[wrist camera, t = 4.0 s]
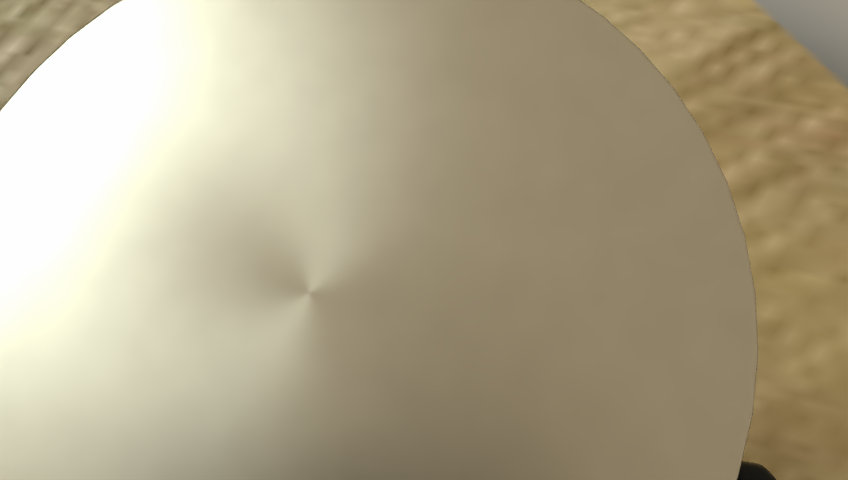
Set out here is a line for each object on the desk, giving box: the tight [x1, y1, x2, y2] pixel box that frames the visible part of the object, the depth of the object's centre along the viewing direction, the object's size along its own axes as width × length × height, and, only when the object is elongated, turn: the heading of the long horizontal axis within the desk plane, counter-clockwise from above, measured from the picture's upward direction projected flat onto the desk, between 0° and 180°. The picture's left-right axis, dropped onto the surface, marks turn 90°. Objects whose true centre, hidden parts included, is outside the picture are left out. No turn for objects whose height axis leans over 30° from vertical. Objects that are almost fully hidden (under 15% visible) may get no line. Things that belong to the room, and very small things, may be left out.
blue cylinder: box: [0, 0, 758, 480], centre depth 12 cm, size 10×6×13 cm, turn 172°
